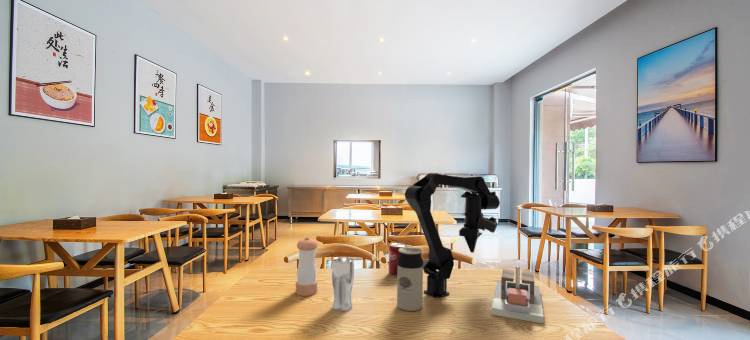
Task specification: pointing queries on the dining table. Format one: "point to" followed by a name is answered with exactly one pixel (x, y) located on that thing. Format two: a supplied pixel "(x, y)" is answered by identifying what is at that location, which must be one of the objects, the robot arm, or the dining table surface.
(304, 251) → the pepper shaker
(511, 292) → the block
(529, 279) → the tunnel
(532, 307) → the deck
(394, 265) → the soda can
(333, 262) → the beer glass
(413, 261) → the travel mug
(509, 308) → the grey piece
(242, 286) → the dining table surface
